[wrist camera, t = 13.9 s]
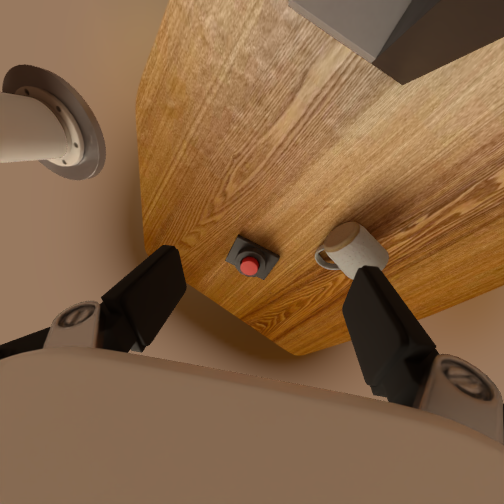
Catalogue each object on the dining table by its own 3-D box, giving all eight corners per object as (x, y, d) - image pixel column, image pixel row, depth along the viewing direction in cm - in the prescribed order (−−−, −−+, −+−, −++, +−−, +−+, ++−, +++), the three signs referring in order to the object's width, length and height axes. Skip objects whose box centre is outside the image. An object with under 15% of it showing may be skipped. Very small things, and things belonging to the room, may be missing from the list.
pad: (226, 258, 42) (222, 265, 40) (238, 234, 38) (235, 241, 36) (264, 276, 43) (263, 285, 41) (279, 255, 40) (279, 263, 37)
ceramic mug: (351, 212, 32) (366, 230, 26) (378, 241, 34) (398, 265, 28) (304, 248, 38) (307, 270, 31) (330, 271, 40) (338, 297, 33)
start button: (239, 265, 39) (237, 270, 38) (246, 253, 37) (244, 258, 36) (254, 273, 40) (252, 278, 38) (261, 261, 38) (260, 266, 36)
